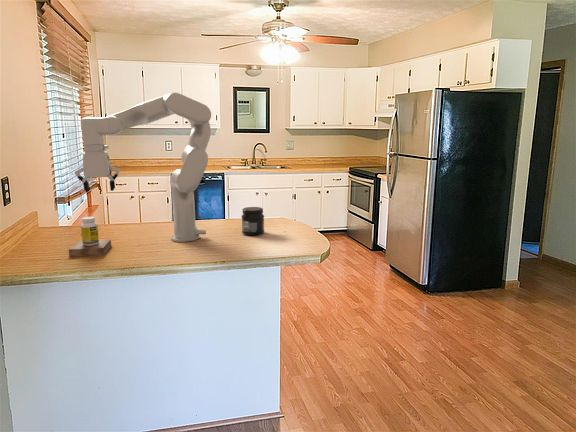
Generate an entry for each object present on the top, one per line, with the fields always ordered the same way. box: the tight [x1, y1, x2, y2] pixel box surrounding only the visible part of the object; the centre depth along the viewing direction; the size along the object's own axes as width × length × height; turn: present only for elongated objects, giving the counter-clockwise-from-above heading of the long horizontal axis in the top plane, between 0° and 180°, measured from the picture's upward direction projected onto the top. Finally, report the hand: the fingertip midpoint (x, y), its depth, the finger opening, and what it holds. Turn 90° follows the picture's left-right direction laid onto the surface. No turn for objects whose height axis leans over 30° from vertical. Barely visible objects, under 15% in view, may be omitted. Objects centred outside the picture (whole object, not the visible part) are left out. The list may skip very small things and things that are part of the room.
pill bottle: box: [80, 216, 100, 246], centre depth 184 cm, size 6×6×11 cm
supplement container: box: [241, 206, 265, 237], centre depth 212 cm, size 10×10×12 cm
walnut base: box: [68, 239, 112, 258], centre depth 185 cm, size 13×13×3 cm
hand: (100, 191), depth 185 cm, fingers open, 9 cm apart
